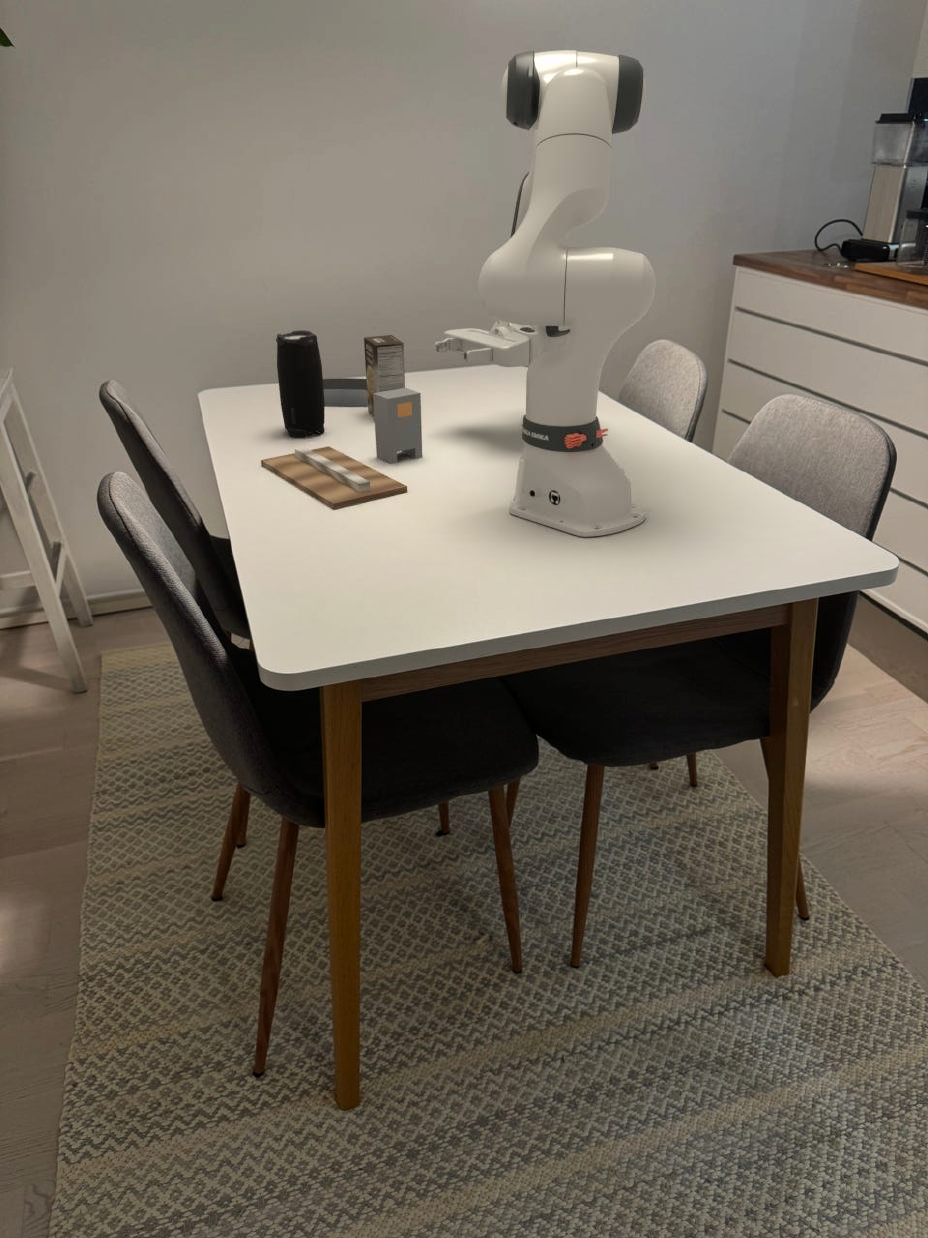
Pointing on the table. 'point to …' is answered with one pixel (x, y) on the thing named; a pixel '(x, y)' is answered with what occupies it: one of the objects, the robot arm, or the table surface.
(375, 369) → the coffee box
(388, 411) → the block
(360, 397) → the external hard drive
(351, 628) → the table surface
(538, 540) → the table surface
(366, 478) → the rail
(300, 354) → the portable speaker
